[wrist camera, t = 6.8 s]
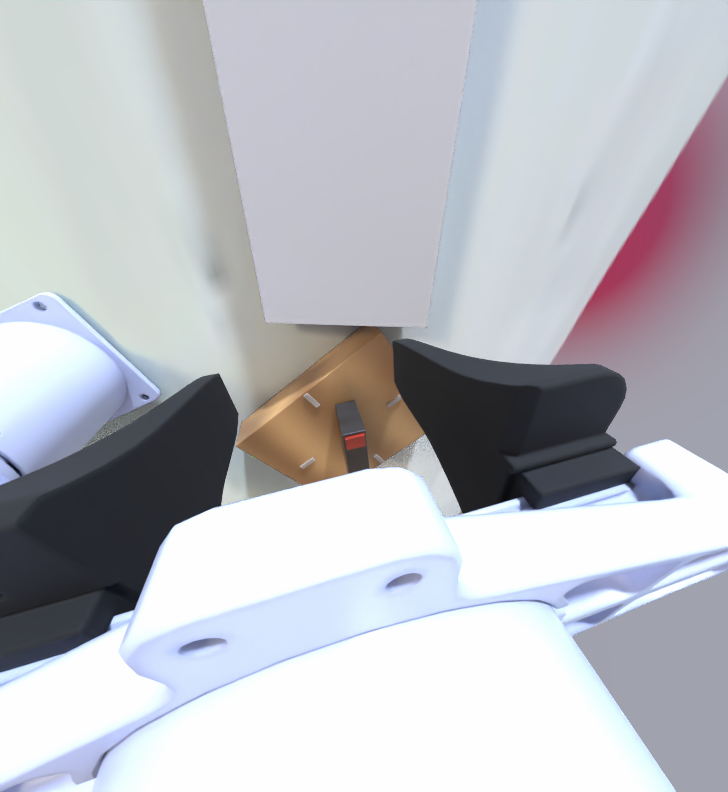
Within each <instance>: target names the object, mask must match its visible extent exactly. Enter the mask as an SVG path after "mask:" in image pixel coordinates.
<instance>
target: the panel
mask: <svg viewBox="0 0 728 792" xmlns="http://www.w3.org/2000/svg"><path fill="white" fill-rule="evenodd" d="M349 401H355V402H356V405H357V408H358V410H359V413H360V416H361V419H362V421H363V424H364V427H365V430H366V438H367V448H368V457H369V467H370V469H374V468H375V467H377V466H378V465H380V464H382V463H384V462H385V461H386V460H387V459H389V458H390V457H392V456H393V455H395V454H396V453H398V452H399V451H401V450H402V449H404V448H405V447H407V446H408V445H410V444H411V443H413V442H414V441H416V440H417V439H419V438H420V437H422V436H423V435H424V434H425V433H424V431H423V430H422V428H421V427H420V425H419V424H418V422H417V421H416V419H415V418H414V416H413V415H412V413H411V412H410V410H409V409H408V407H407V406H406V404H405V402H404V401H403V399H402V398H401V396H400V393H399V391H398V389H397V387H396V385H395V382H394V364H393V347H392V345H391V344H390V343H389V341H388V340H387V338H386V337H385V336H384V334H383V333H382V332H381V330H380V329H379V328H378V327H377V326H361V327H360V328H359V329H358V330H356V331H355V332H354V333H353V334H351V335H350V336H349V337H348V338H346V339H345V340H344V341H343V342H341V343H340V344H339V345H338V346H336V347H335V348H334V349H333V350H331V351H330V352H329V353H328V354H326V355H325V356H324V357H323V358H321V359H320V360H319V361H318V362H316V363H315V364H314V365H313V366H311V367H310V368H309V369H308V370H306V371H305V372H304V373H303V374H301V375H300V376H299V377H298V378H296V379H295V380H294V381H293V382H291V383H290V384H289V385H288V386H286V387H285V388H284V389H283V390H281V391H280V392H279V393H278V394H276V395H275V396H274V397H273V398H271V399H270V400H269V401H268V402H266V403H265V404H264V405H263V406H261V407H260V408H259V409H258V410H256V411H255V412H254V413H253V414H251V415H250V416H249V417H248V418H246V419H245V420H244V421H242V423H241V427H240V431H239V435H238V439H237V443H236V447H238V448H239V449H241V450H243V451H245V452H246V453H248V454H250V455H252V456H253V457H255V458H257V459H258V460H260V461H262V462H264V463H265V464H267V465H269V466H270V467H272V468H274V469H276V470H277V471H279V472H281V473H283V474H284V475H286V476H288V477H289V478H291V479H293V480H295V481H296V482H298V483H300V484H301V485H306V484H310V483H314V482H318V481H322V480H326V479H329V478H333V477H337V476H341V475H345V474H348V472H347V468H346V464H345V459H344V453H343V448H342V442H341V437H340V431H339V426H338V420H337V415H336V409H335V404H339V403H344V402H349Z"/></svg>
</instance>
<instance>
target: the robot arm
mask: <svg viewBox="0 0 728 792" xmlns="http://www.w3.org/2000/svg"><path fill="white" fill-rule="evenodd" d="M39 302H40V303H42V304H44V305H45V307H46V309H44V308H42V307H41V306H40V305H39ZM393 364H394V382H395V385H396V387H397V389H398V391H399V393H400V396H401V398H402V399H403V401H404V402H405V404H406V406H407V407H408V409H409V410H410V412H411V413H412V415H413V416H414V418H415V419H416V421H417V422H418V424H419V425H420V427H421V428H422V430H423V431H424V433H425V434H426V436H427V438H428V439H429V441H430V443H431V445H432V447H433V449H434V451H435V453H436V455H437V457H438V459H439V461H440V463H441V466H442V468H443V470H444V472H445V474H446V476H447V478H448V480H449V483H450V485H451V487H452V490H453V492H454V494H455V496H456V499H457V501H458V503H459V506H460V508H461V511H462V513H463V514H461V515H458V516H449V517H443V516H442V514H441V512H440V510H439V508H438V506H437V504H436V502H435V500H434V498H433V497H432V495H431V493H430V491H429V489H428V487H427V485H426V483H425V481H424V479H423V477H421V476H419V475H417V474H414V473H412V472H410V471H407V470H405V469H403V468H400V467H389V468H375V469H365V470H361V471H357V472H353V473H349V474H345V475H341V476H337V477H333V478H329V479H326V480H322V481H318V482H314V483H310V484H306V485H302V486H298V487H294V488H290V489H286V490H282V491H278V492H274V493H270V494H266V495H262V496H258V497H254V498H250V499H246V500H243V501H239V502H235V503H231V504H227V505H223V506H221V501H222V494H223V488H224V483H225V479H226V475H227V471H228V467H229V463H230V459H231V455H232V452H233V448H234V444H235V440H236V435H237V427H238V412H237V410H236V408H235V406H234V404H233V402H232V400H231V397H230V395H229V393H228V391H227V389H226V387H225V385H224V383H223V381H222V379H221V377H220V375H219V374H214V375H208V376H203V377H201V378H199V379H197V380H195V381H193V382H192V383H190V384H189V385H187V386H186V387H184V388H183V389H181V390H180V391H179V392H177V393H176V394H174V395H173V396H171V397H170V398H169V399H167V400H166V401H164V402H163V403H161V404H160V405H158V406H157V407H155V408H154V409H152V410H151V411H149V412H148V413H146V414H145V415H143V416H142V417H140V418H139V419H137V420H135V421H134V422H132V423H130V424H129V425H127V426H125V427H124V428H122V429H120V430H118V431H117V432H115V433H113V434H111V435H109V436H107V437H106V438H104V439H102V440H100V441H98V442H96V443H94V444H92V445H90V446H88V447H86V448H84V449H83V447H84V446H85V445H86V444H87V443H88V442H89V441H90V440H91V439H92V438H93V437H94V435H95V434H96V433H97V432H98V431H99V430H100V429H101V428H102V427H103V426H104V424H105V423H106V422H108V421H111V420H113V419H115V418H117V417H119V416H121V415H124V414H126V413H128V412H130V411H132V410H135V409H137V408H139V407H141V406H143V405H146V404H148V403H150V402H152V401H154V400H156V399H158V398H159V397H160V395H161V391H160V390H159V389H158V388H157V387H156V386H155V385H154V384H153V383H152V382H151V381H149V380H148V379H147V378H146V377H145V376H144V375H143V374H142V373H141V372H140V371H139V370H138V369H137V368H135V367H134V366H133V365H132V364H131V363H130V362H129V361H128V360H127V359H126V358H125V357H124V356H122V355H121V354H120V353H119V352H118V351H117V350H116V349H115V348H114V347H113V346H112V345H111V344H109V343H108V342H107V341H106V340H105V339H104V338H103V337H102V336H101V335H100V334H99V333H98V332H96V331H95V330H94V329H93V328H92V327H91V326H90V325H89V324H88V323H87V322H86V321H85V320H84V319H82V318H81V317H80V316H79V315H78V314H77V313H76V312H75V311H74V310H73V309H72V308H71V307H69V306H68V305H67V304H66V303H65V302H64V301H63V300H62V299H61V298H60V297H58V296H57V295H55V294H53V293H49V292H45V293H41V294H38V295H36V296H34V297H31V298H29V299H27V300H25V301H23V302H21V303H19V304H17V305H14V306H12V307H10V308H8V309H6V310H4V311H2V312H0V792H676V791H675V789H674V788H673V786H672V785H671V783H670V782H669V780H668V779H667V777H666V776H665V775H664V773H663V772H662V770H661V769H660V767H659V766H658V764H657V763H656V761H655V760H654V758H653V757H652V755H651V754H650V752H649V751H648V749H647V748H646V747H645V745H644V743H643V742H642V740H641V739H640V737H639V736H638V735H637V733H636V732H635V730H634V729H633V727H632V726H631V724H630V723H629V721H628V720H627V718H626V717H625V715H624V714H623V712H622V711H621V709H620V708H619V706H618V705H617V704H616V702H615V700H614V699H613V697H612V696H611V695H610V693H609V692H608V690H607V689H606V687H605V686H604V684H603V683H602V681H601V680H600V678H599V677H598V675H597V674H596V672H595V671H594V669H593V668H592V666H591V665H590V663H589V662H588V661H587V659H586V657H585V656H584V655H583V653H582V652H581V650H580V649H579V647H578V646H577V644H576V643H575V641H574V640H573V638H572V637H571V636H573V635H576V634H578V633H580V632H582V631H585V630H587V629H589V628H592V627H594V626H596V625H599V624H601V623H603V622H605V621H608V620H610V619H612V618H614V617H617V616H619V615H621V614H624V613H626V612H628V611H631V610H633V609H635V608H637V607H640V606H642V605H644V604H647V603H649V602H652V601H654V600H656V599H659V598H661V597H663V596H666V595H668V594H671V593H673V592H676V591H678V590H680V589H683V588H685V587H687V586H690V585H693V584H695V583H697V582H700V581H703V580H705V579H708V578H710V577H713V576H716V575H718V574H721V573H723V572H724V571H726V570H728V474H727V473H725V472H724V471H722V470H720V469H719V468H717V467H715V466H713V465H711V464H710V463H708V462H706V461H705V460H703V459H701V458H699V457H698V456H696V455H694V454H693V453H691V452H689V451H687V450H685V449H684V448H682V447H680V446H679V445H677V444H675V443H674V442H672V441H670V440H661V441H657V442H653V443H650V444H646V445H643V446H639V447H636V448H633V449H631V450H629V451H628V452H626V453H625V454H624V455H622V454H621V453H620V452H618V451H617V450H615V449H614V448H613V447H612V446H615V444H616V443H617V442H616V439H614V438H613V437H611V436H610V435H608V434H607V433H605V432H606V430H607V429H608V427H609V425H610V424H611V422H612V420H613V419H614V417H615V415H616V414H617V412H618V410H619V409H620V407H621V404H622V403H623V401H624V398H625V394H626V383H625V379H624V378H623V377H622V376H621V375H620V374H618V373H616V372H614V371H612V370H610V369H608V368H606V367H603V366H601V365H597V364H575V365H574V364H573V365H536V364H518V363H508V362H498V361H491V360H485V359H479V358H474V357H469V356H465V355H461V354H457V353H453V352H450V351H446V350H443V349H440V348H437V347H434V346H431V345H428V344H425V343H422V342H419V341H415V340H412V339H401V340H395V341H393ZM143 394H144V395H147V396H148V397H149V398H147V397H144V396H143Z"/></svg>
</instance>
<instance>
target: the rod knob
mask: <svg viewBox="0 0 728 792" xmlns="http://www.w3.org/2000/svg"><path fill="white" fill-rule="evenodd" d="M335 409H336V415H337V420H338V426H339V431H340V437H341V442H342V448H343V453H344V459H345V464H346V468H347V472H348V474H349V473H353V472H357V471H361V470H365V469H370V467H369V457H368V448H367V438H366V430H365V427H364V424H363V421H362V419H361V416H360V413H359V410H358V408H357V405H356V402H355V401H349V402H344V403H339V404H335Z"/></svg>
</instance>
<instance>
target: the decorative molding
mask: <svg viewBox="0 0 728 792" xmlns="http://www.w3.org/2000/svg"><path fill="white" fill-rule="evenodd" d="M477 2H478V0H203V5H204V10H205V16H206V21H207V26H208V31H209V36H210V41H211V46H212V51H213V56H214V62H215V67H216V72H217V77H218V82H219V87H220V92H221V97H222V102H223V108H224V113H225V118H226V123H227V128H228V133H229V138H230V143H231V148H232V154H233V159H234V164H235V169H236V174H237V179H238V184H239V189H240V194H241V199H242V205H243V210H244V215H245V220H246V225H247V230H248V235H249V240H250V245H251V251H252V256H253V261H254V266H255V271H256V276H257V281H258V286H259V291H260V297H261V302H262V307H263V312H264V317H265V322H266V323H287V324H320V325H352V326H384V327H417V328H427V323H428V317H429V311H430V304H431V298H432V291H433V285H434V278H435V272H436V265H437V259H438V253H439V246H440V240H441V233H442V227H443V220H444V214H445V208H446V201H447V195H448V188H449V182H450V175H451V169H452V162H453V156H454V150H455V143H456V137H457V130H458V124H459V117H460V111H461V105H462V98H463V92H464V85H465V79H466V72H467V66H468V59H469V53H470V47H471V40H472V34H473V27H474V21H475V14H476V8H477Z"/></svg>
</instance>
